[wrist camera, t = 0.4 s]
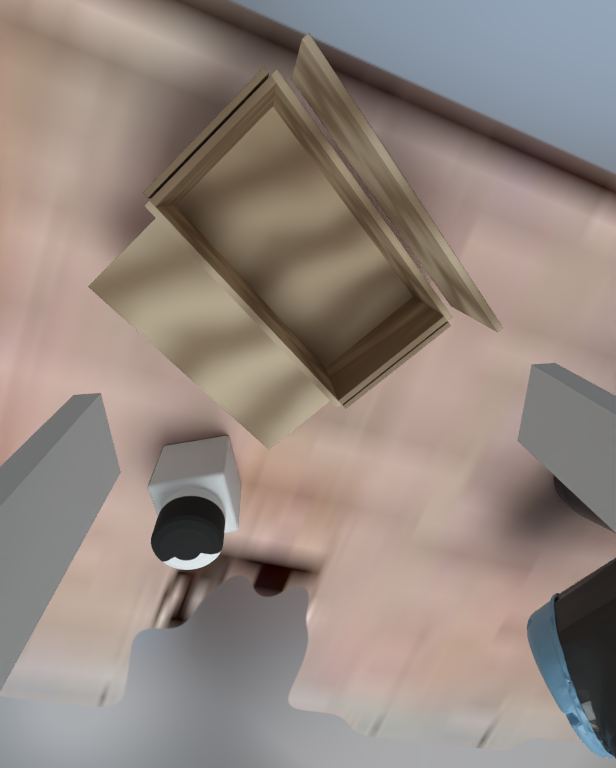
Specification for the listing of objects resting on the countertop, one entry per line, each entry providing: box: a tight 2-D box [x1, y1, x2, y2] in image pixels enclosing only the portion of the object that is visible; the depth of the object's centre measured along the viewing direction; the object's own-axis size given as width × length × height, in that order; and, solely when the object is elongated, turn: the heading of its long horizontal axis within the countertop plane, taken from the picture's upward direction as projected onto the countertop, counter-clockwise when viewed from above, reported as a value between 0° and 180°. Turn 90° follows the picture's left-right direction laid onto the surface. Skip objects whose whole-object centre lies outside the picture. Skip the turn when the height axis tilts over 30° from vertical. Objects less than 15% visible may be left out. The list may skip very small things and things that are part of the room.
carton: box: [88, 67, 452, 449], centre depth 35 cm, size 22×19×8 cm
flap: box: [292, 33, 503, 332], centre depth 26 cm, size 19×1×7 cm, turn 40°
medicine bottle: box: [148, 436, 241, 570], centre depth 41 cm, size 7×7×12 cm
